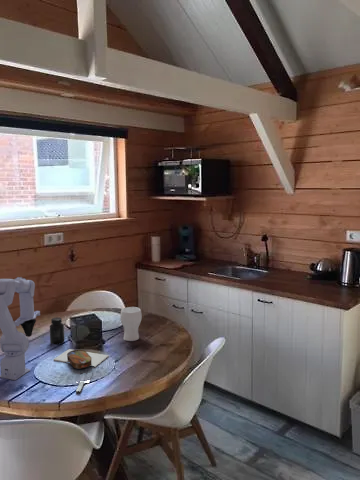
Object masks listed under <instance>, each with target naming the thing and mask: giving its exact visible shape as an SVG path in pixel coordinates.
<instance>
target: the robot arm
mask: <svg viewBox="0 0 360 480" xmlns="http://www.w3.org/2000/svg"><path fill="white" fill-rule="evenodd" d="M35 288H36V284H35V282H34V281H33V280H32V279H26V278H23V277H22V276H20V277H19V276H17V277H16V278H14V279H13V278H0V331H1V332H2V335H1V337H0V350H1V352H2V353H3V354H4V357H3V358H2V359H1V360H0V378H3V379H9V380H12V381H16V380H17V379H19V378H21V377H22V376H24V375H25V374H27V373H29V372H30V371H31V369H30V368H26V352H27V351H28V349H29V347H30V341H29V338H30V337H31V336H32V335H33V329H34V326H35V325H36V322H37V320H36V319H37V317H38V316H41V311H40V310H35V308H34V307H35V303H34V296H35ZM15 293H17V294H18V297H19V314H20V316H19V317H17V319H16V320H13V317H12V314H11V312H10V310H9V306H10V305H12V304H13V300H14V297H15ZM19 326H21V328H22V329H23V332H24V333H23V332H21V331H18V329H17V327H19Z"/></svg>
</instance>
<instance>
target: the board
mask: <svg viewBox="0 0 360 480" xmlns="http://www.w3.org/2000/svg"><path fill="white" fill-rule="evenodd" d="M73 350H74V349H73V348H69V349H67V350H65V351H64V352H62V353H61V354H60V355H58V356H56V357H54V358H53V361H56V362H59V361H60V363H65V362H69V361H68V359H67V353H68V352H70V351H73ZM86 352H87V353H88V355H89V356H90V357H91V358H92V359H91V365H90V366H94V367H95V368H97V367H98V366H99V365H101V362H102V361H103V362H105V361H106V360H107V359H108V358H109V357H110V355H109V354H102V353H96V352H89V351H86ZM106 358H107V359H106ZM103 362H102V363H103ZM98 364H99V365H98ZM97 365H98V366H97ZM96 366H97V367H96ZM94 367H93V368H94Z"/></svg>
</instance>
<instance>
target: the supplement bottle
mask: <svg viewBox="0 0 360 480" xmlns="http://www.w3.org/2000/svg"><path fill="white" fill-rule="evenodd" d="M50 321H51V322H50V325H49V341H50V344H51V345H61V344H64V343H65V341H66V340H65V339H66V338H65V324H64V323H63V320H62V317H59V316H57V317H52V318H51V319H50Z"/></svg>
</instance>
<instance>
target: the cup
mask: <svg viewBox="0 0 360 480" xmlns="http://www.w3.org/2000/svg"><path fill="white" fill-rule="evenodd" d="M142 315H143V314H142V310H141V308H140V307H136V306H127V307H123V308H122V309H121V311H120V315H119V316H120V318H119V319H120V322H121V324H122V327H123V330H124V332H123V333H124V334H123V340H124V341H127V342H134V341H137V340H139V339H140V334H139V326H140V325H141V321H142V319H143V317H142Z"/></svg>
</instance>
